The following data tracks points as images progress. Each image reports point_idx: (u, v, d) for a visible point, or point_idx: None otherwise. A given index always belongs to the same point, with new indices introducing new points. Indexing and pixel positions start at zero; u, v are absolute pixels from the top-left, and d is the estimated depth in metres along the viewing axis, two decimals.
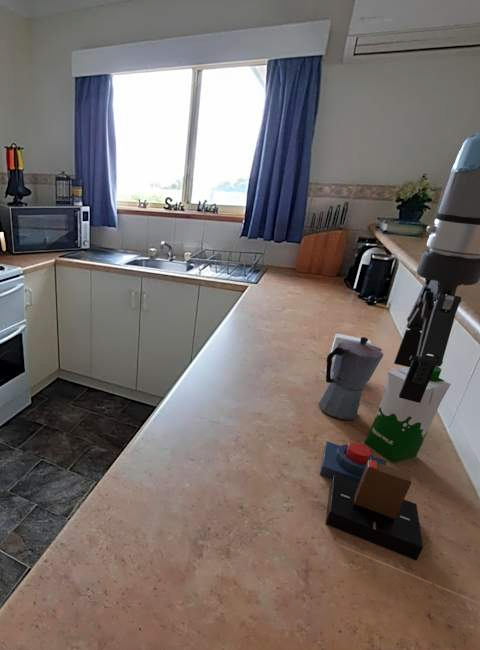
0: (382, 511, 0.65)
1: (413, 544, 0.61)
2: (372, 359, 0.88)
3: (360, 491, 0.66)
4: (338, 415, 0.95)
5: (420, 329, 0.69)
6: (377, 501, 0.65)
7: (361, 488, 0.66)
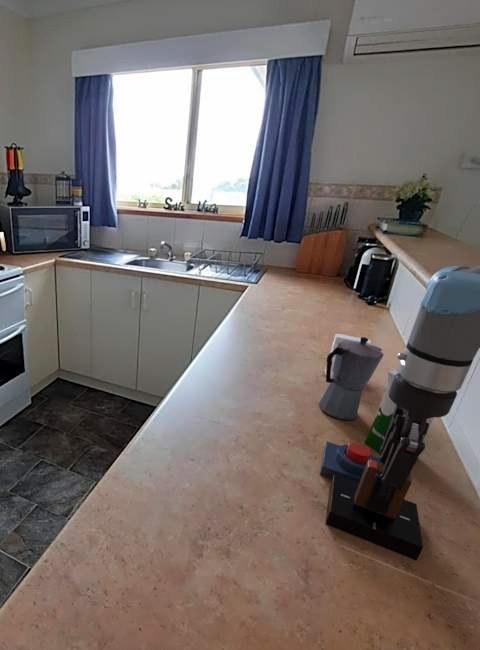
0: None
1: (413, 544, 0.61)
2: (372, 359, 0.88)
3: (360, 491, 0.66)
4: (338, 415, 0.95)
5: None
6: None
7: (361, 488, 0.66)
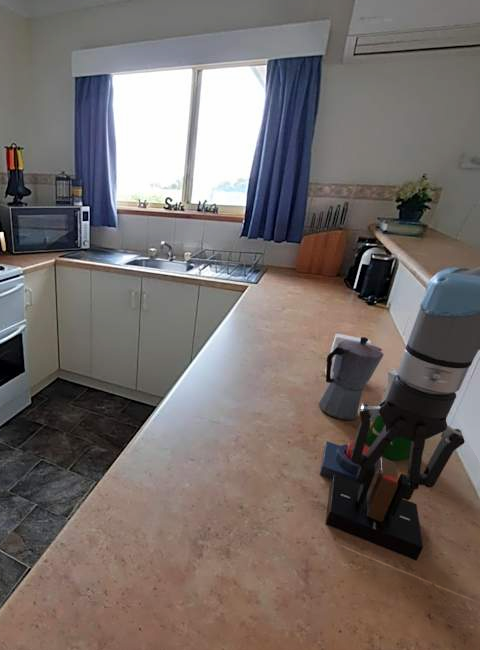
0: None
1: (413, 544, 0.61)
2: (372, 359, 0.88)
3: (387, 508, 0.63)
4: (338, 415, 0.95)
5: None
6: None
7: None
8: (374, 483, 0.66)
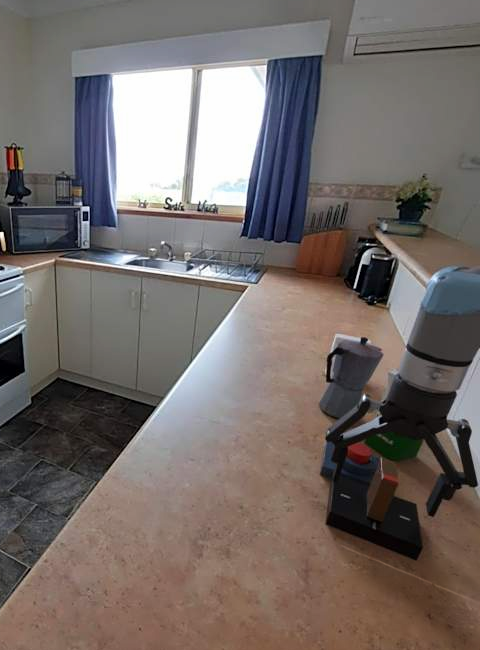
0: None
1: (413, 544, 0.61)
2: (372, 359, 0.88)
3: (387, 508, 0.63)
4: (338, 415, 0.95)
5: None
6: None
7: None
8: (374, 483, 0.66)
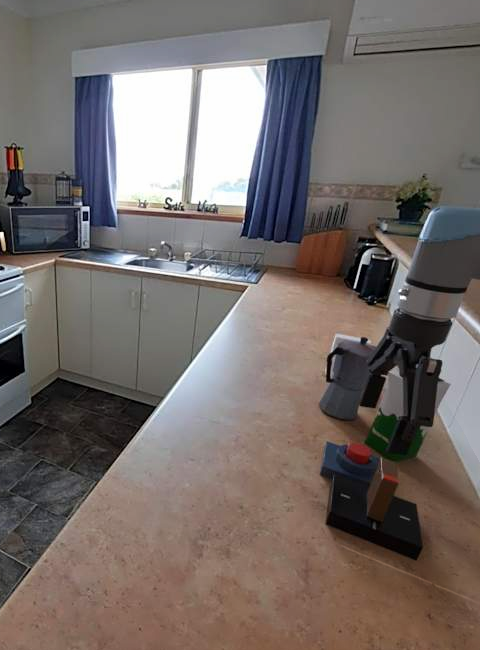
0: None
1: (413, 544, 0.61)
2: None
3: (387, 508, 0.63)
4: (338, 415, 0.95)
5: (381, 373, 0.73)
6: None
7: None
8: (374, 483, 0.66)
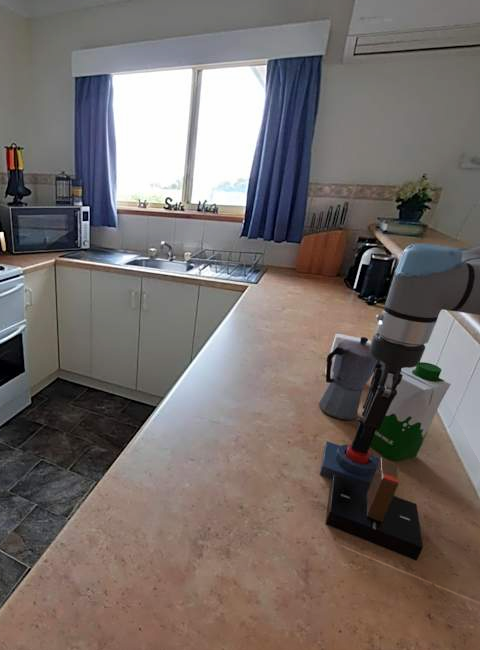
0: None
1: (413, 544, 0.61)
2: (372, 359, 0.88)
3: (387, 508, 0.63)
4: (338, 415, 0.95)
5: None
6: None
7: None
8: (374, 483, 0.66)
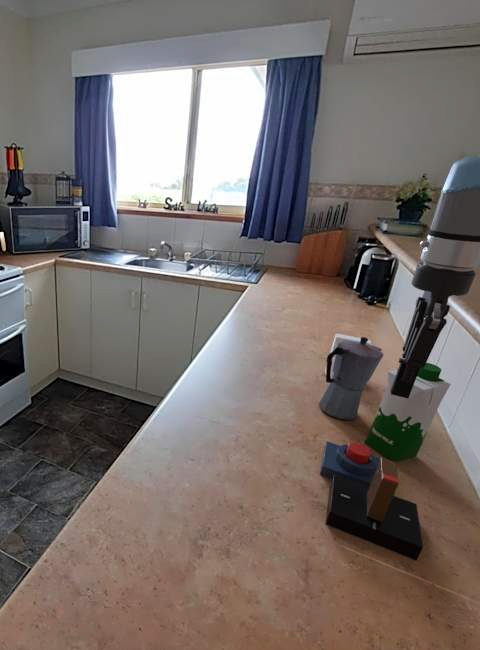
0: None
1: (413, 544, 0.61)
2: (372, 359, 0.88)
3: (387, 508, 0.63)
4: (338, 415, 0.95)
5: None
6: None
7: None
8: (374, 483, 0.66)
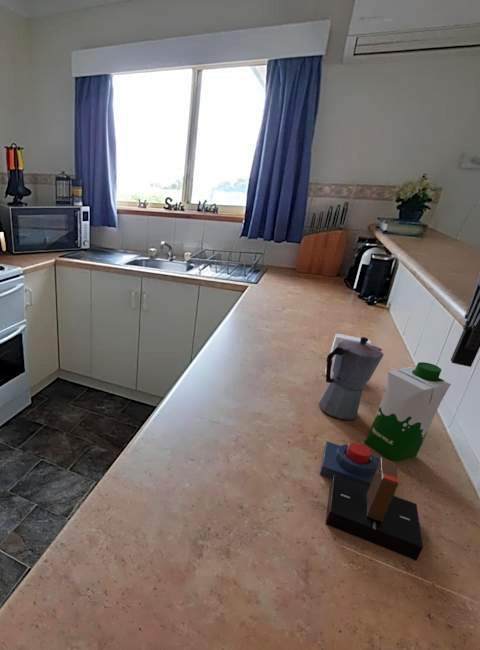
0: None
1: (413, 544, 0.61)
2: (372, 359, 0.88)
3: (387, 508, 0.63)
4: (338, 415, 0.95)
5: None
6: None
7: None
8: (374, 483, 0.66)
